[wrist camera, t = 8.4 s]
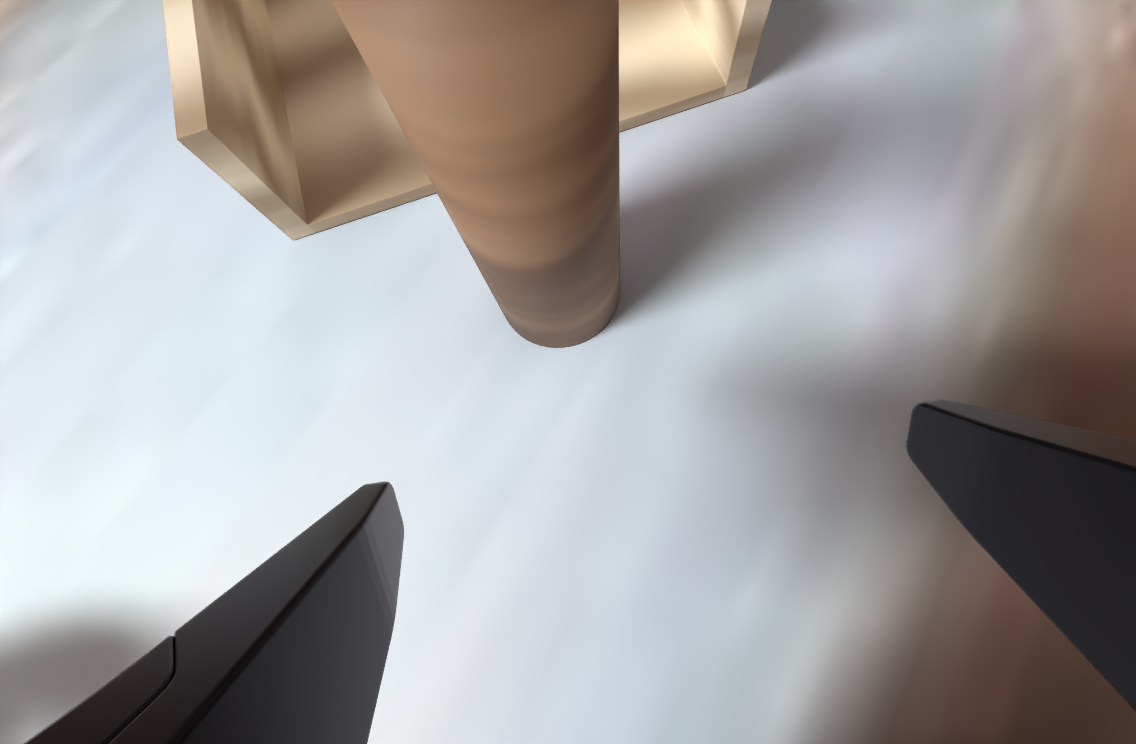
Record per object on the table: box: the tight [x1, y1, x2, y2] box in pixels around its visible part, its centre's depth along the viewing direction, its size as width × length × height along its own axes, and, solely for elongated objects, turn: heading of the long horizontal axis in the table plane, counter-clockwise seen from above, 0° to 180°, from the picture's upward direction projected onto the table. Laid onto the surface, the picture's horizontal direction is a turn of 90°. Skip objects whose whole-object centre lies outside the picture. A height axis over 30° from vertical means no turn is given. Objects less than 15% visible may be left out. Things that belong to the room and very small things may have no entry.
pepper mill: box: [331, 0, 620, 348], centre depth 12 cm, size 5×5×17 cm
